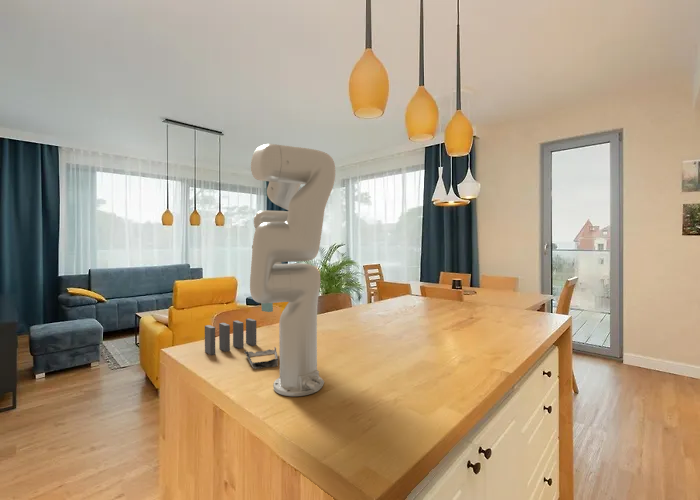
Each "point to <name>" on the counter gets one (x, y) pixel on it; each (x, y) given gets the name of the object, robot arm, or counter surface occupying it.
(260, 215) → the robot arm
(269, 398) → the counter surface
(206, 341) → the domino
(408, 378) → the counter surface
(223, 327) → the domino
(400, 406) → the counter surface
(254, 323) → the domino
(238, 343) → the domino
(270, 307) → the teal domino
